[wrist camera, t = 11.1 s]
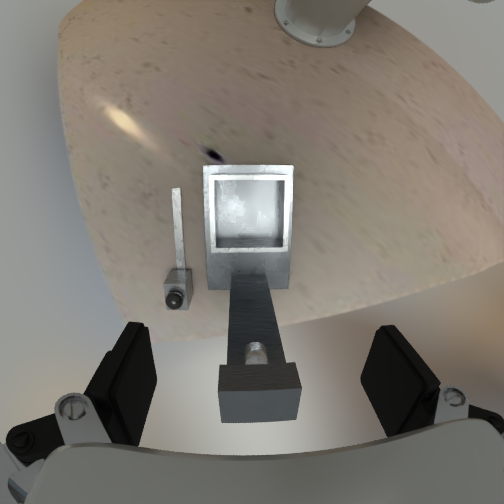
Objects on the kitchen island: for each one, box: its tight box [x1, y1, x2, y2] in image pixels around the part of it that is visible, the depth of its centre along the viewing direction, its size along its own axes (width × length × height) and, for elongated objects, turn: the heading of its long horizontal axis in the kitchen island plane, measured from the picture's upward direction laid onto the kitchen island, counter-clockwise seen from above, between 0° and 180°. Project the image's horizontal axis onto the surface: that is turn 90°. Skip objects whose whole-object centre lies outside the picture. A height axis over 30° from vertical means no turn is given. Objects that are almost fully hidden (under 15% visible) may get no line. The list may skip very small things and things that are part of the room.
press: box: [172, 165, 302, 423], centre depth 28 cm, size 19×17×25 cm
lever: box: [164, 270, 193, 310], centre depth 38 cm, size 4×3×7 cm
